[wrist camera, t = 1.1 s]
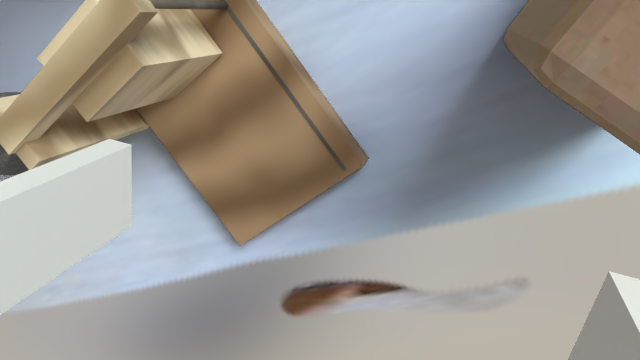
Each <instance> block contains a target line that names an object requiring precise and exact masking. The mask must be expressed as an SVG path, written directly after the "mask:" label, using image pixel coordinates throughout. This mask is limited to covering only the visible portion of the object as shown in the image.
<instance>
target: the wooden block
mask: <svg viewBox="0 0 640 360" xmlns="http://www.w3.org/2000/svg"><path fill="white" fill-rule="evenodd" d="M503 41H504V43H505V44H506V46H507V48H508V49H509V51H510V52H511V53H512V54H513V55H514V56H515V57H516V58H517V59H518V60H519V61H520V62H521V63H522V64H523V65H524V67H525V68H526V69H527V70H528V71H529V72H530V73H531V74H532V75H533V76H534V77H535V78H536V79H537V80H538V81H539V82H540V83H541V84H542V86H543V87H545V88H546V89H548V90H549V91H550V92H552V93H553V94H555V95H556V96H558V97H559V98H560V99H562V100H563V101H565V102H566V103H567V104H569V105H570V106H572V107H573V108H575V109H576V110H577V111H579V112H580V113H582V114H583V115H585V116H586V117H587V118H589V119H590V120H592V121H593V122H595V123H596V124H597V125H599V126H600V127H602V128H603V129H604V130H606V131H607V132H609V133H610V134H612V135H613V136H614V137H616V138H617V139H619V140H620V141H622V142H623V143H624V144H626V145H627V146H629V147H630V148H632V149H633V150H634V151H636V152H637V153H639V154H640V0H529V1H528V2H527V3H526V4H525V6H524V7H523V8H522V10H521V11H520V12H519V13H518V15H517V16H516V17H515V18H514V20H513V21H512V22H511V24H510V25H509V26H508V27H507V29H506V32H505V36H504V39H503Z"/></svg>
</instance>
